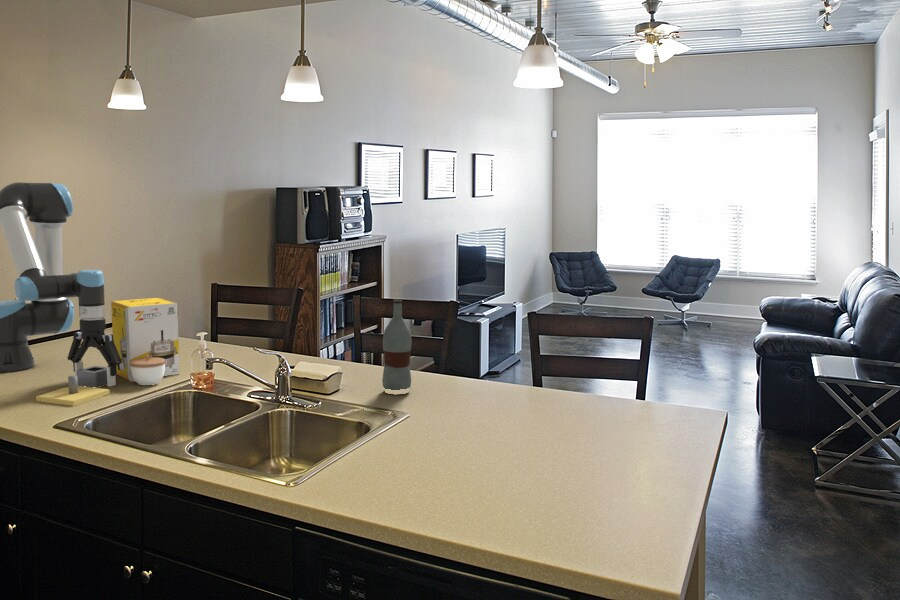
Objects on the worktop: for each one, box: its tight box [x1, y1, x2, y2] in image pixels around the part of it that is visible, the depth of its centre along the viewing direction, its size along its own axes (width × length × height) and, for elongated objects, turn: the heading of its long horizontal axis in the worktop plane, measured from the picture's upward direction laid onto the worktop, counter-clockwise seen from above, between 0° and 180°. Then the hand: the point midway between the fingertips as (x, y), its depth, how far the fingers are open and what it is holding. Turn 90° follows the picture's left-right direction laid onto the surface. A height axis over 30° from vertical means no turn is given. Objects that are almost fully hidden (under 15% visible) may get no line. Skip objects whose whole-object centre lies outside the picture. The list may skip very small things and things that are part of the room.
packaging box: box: [110, 297, 180, 382], centre depth 254 cm, size 16×16×25 cm
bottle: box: [381, 299, 412, 390], centre depth 236 cm, size 9×9×30 cm
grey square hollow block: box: [77, 365, 107, 388], centre depth 240 cm, size 8×8×5 cm
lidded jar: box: [130, 355, 165, 386], centre depth 242 cm, size 11×11×9 cm
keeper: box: [35, 375, 111, 407], centre depth 224 cm, size 14×14×6 cm
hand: (95, 383), depth 240 cm, fingers open, 12 cm apart
